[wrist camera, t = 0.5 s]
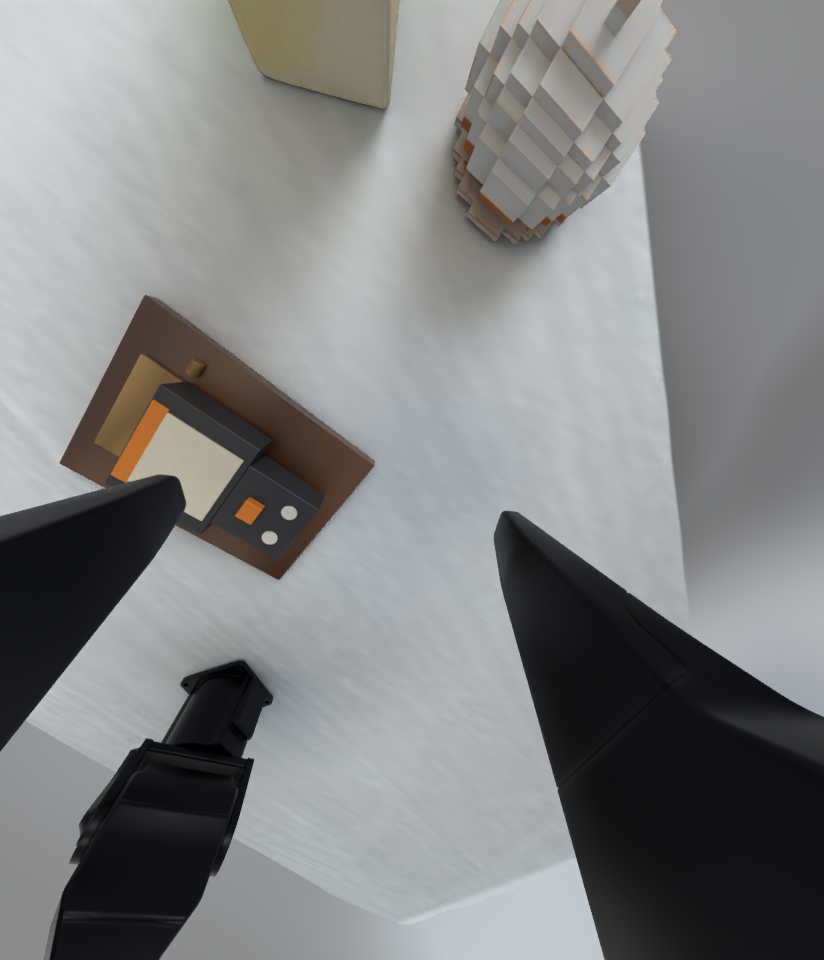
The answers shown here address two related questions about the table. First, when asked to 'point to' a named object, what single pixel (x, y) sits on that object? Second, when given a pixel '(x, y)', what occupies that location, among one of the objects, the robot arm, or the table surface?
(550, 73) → the decorative ornament
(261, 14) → the toy refrigerator
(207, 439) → the penguin
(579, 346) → the table surface
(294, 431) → the stand
